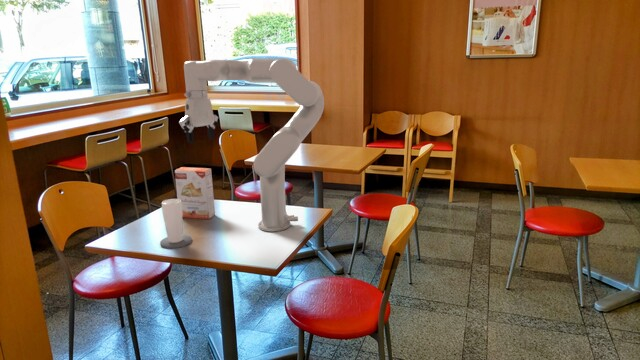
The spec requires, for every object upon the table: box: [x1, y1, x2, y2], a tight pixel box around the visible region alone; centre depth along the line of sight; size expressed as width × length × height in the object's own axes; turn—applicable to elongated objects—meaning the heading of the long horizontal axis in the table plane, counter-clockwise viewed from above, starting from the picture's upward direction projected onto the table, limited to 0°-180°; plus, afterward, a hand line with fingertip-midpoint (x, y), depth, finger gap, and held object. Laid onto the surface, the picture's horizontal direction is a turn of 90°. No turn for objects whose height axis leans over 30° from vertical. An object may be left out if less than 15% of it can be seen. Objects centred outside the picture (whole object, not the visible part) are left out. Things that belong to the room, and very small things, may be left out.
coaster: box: [159, 234, 193, 250], centre depth 161 cm, size 11×11×1 cm
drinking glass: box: [161, 198, 184, 243], centre depth 158 cm, size 7×7×15 cm
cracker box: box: [174, 166, 216, 220], centre depth 186 cm, size 14×6×21 cm, turn 77°
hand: (201, 140), depth 169 cm, fingers open, 9 cm apart
